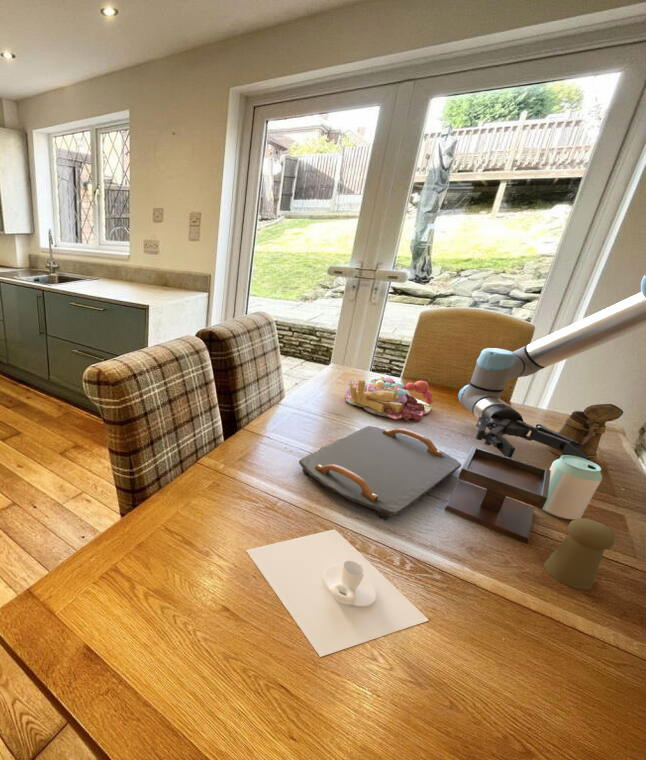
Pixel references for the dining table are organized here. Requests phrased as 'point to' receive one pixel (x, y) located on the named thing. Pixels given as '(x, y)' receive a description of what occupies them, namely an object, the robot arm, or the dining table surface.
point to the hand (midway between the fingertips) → (548, 458)
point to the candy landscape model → (390, 398)
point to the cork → (580, 553)
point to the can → (571, 486)
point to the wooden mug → (588, 427)
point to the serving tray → (381, 468)
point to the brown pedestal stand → (499, 492)
